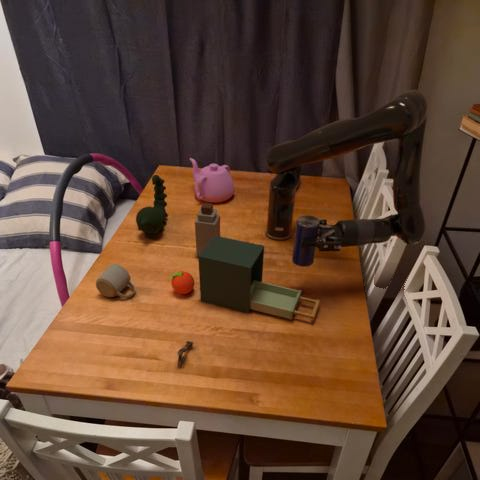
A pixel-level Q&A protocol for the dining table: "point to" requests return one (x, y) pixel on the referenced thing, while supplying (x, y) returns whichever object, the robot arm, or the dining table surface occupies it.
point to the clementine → (182, 282)
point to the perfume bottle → (206, 226)
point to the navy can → (305, 230)
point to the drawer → (278, 300)
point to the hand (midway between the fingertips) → (298, 237)
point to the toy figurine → (153, 211)
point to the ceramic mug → (114, 281)
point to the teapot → (212, 182)
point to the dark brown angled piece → (188, 345)
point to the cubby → (229, 272)
